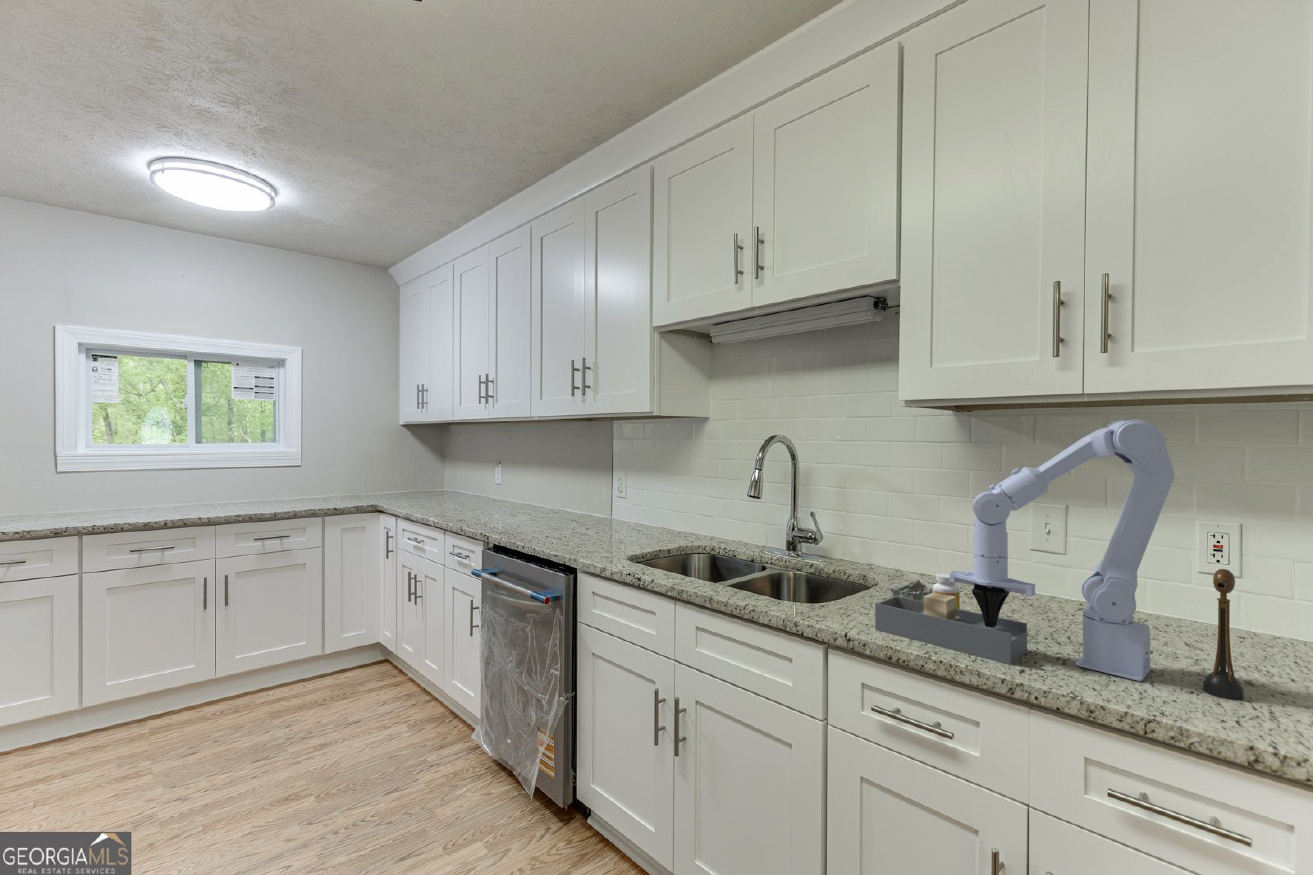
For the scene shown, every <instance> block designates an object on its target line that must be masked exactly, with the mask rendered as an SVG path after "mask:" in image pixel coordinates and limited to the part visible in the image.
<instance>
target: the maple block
mask: <svg viewBox="0 0 1313 875" xmlns="http://www.w3.org/2000/svg"><path fill="white" fill-rule="evenodd" d="M924 614H926V615H931V616H935V617H940V618H944V619H948V620H955V619H956V597H954V596H949V595H944V594H939V593H934V592H933V593H931V594H928V595H926V596H924Z"/></svg>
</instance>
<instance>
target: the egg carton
mask: <svg viewBox="0 0 1313 875" xmlns="http://www.w3.org/2000/svg"><path fill="white" fill-rule="evenodd" d="M888 591H890V598H891V597H894V596H899V597H904V598H909V599H914V600H918V601H923V602H924V596H926V595H928V594H931V593H933V587H930V588H929V589H928V587H927V584H925V583H923V582H921V580H912V581H910V582H909V583H908V584H904V585H902V586H897V587H894V588H892V587H890V588H888Z"/></svg>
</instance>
